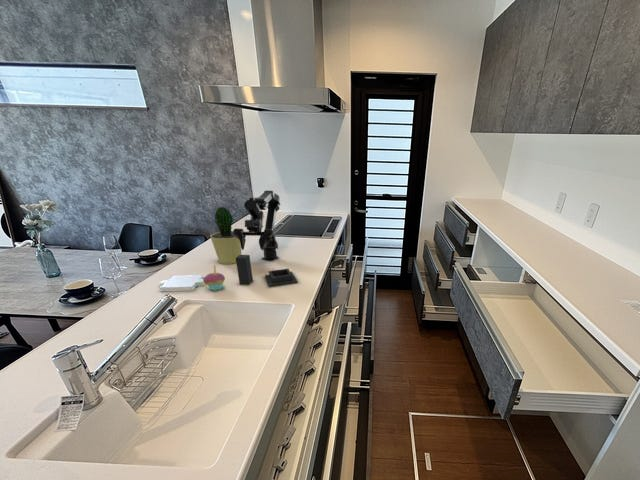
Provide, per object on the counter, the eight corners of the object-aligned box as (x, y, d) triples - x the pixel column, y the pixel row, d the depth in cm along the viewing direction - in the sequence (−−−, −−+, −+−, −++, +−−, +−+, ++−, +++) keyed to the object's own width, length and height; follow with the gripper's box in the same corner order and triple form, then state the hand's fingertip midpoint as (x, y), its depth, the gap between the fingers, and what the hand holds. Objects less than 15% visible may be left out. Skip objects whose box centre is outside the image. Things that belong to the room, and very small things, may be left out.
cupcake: (230, 286, 138) (226, 261, 133) (216, 294, 130) (211, 268, 125) (215, 283, 140) (210, 259, 135) (200, 290, 133) (195, 265, 128)
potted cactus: (208, 262, 164) (197, 206, 152) (230, 254, 177) (221, 202, 165) (230, 267, 159) (220, 209, 147) (251, 258, 172) (243, 205, 160)
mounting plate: (154, 291, 131) (153, 287, 130) (169, 279, 142) (168, 275, 142) (198, 290, 133) (197, 286, 132) (209, 278, 145) (208, 275, 144)
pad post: (243, 280, 144) (239, 254, 139) (253, 280, 144) (249, 254, 139) (239, 284, 140) (235, 257, 135) (249, 284, 140) (245, 258, 134)
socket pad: (265, 276, 148) (264, 270, 147) (291, 273, 154) (291, 266, 152) (269, 287, 138) (268, 280, 136) (297, 282, 143) (297, 276, 141)
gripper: (230, 211, 141) (225, 241, 136) (271, 212, 142) (267, 242, 136) (239, 223, 152) (235, 252, 146) (277, 224, 152) (273, 252, 147)
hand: (252, 249), depth 144 cm, fingers open, 9 cm apart
